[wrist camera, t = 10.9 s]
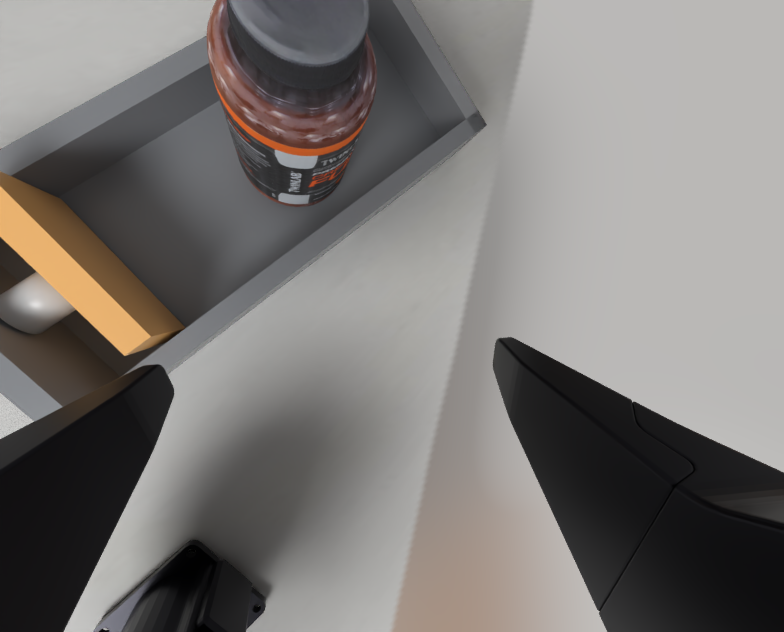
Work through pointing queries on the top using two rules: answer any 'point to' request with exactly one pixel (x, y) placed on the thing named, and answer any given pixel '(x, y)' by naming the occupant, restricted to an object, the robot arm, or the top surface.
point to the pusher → (74, 274)
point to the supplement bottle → (293, 90)
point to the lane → (211, 200)
